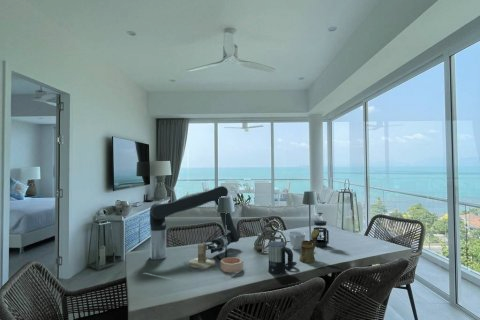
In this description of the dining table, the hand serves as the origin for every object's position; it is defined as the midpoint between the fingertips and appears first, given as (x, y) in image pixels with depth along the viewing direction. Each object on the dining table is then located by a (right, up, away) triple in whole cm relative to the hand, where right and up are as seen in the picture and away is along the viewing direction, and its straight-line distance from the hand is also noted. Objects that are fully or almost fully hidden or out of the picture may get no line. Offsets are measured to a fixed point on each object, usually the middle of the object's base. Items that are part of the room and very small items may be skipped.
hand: (205, 250), depth 157 cm
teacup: (+59, -8, +27) cm, 65 cm away
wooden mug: (+62, -7, +5) cm, 63 cm away
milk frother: (+43, -7, -10) cm, 45 cm away
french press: (+77, -8, +33) cm, 84 cm away
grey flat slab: (-1, -7, -3) cm, 8 cm away
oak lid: (-1, -7, -3) cm, 7 cm away
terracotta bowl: (+16, -7, -10) cm, 20 cm away
